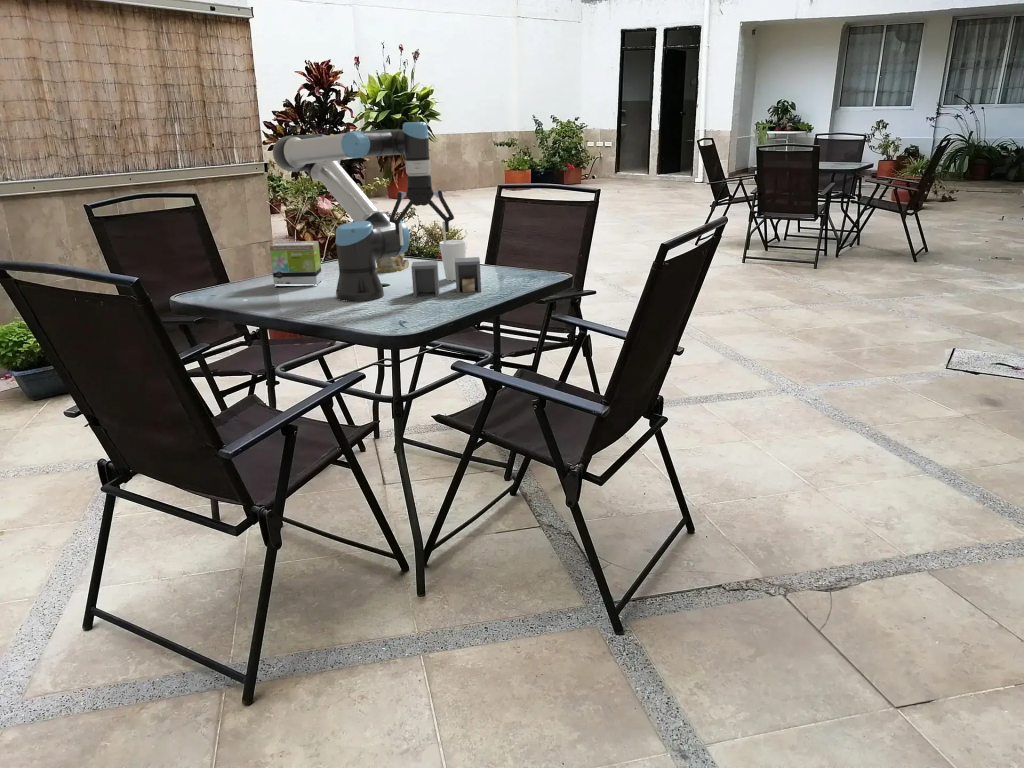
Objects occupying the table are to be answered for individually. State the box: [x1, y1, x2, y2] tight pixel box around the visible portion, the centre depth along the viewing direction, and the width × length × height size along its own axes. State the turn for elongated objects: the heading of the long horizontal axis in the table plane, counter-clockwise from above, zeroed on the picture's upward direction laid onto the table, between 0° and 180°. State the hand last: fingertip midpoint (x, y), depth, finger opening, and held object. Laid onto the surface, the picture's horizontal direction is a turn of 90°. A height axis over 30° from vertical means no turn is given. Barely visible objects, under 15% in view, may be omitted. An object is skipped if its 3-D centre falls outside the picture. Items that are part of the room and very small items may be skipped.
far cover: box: [455, 256, 482, 294], centre depth 255 cm, size 8×8×10 cm
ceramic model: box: [375, 253, 410, 273], centre depth 296 cm, size 14×11×10 cm
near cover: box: [410, 260, 440, 298], centre depth 251 cm, size 8×8×10 cm
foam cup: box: [438, 239, 468, 282], centre depth 273 cm, size 10×9×13 cm
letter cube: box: [462, 277, 476, 292], centre depth 256 cm, size 4×4×4 cm
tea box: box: [269, 240, 323, 285], centre depth 273 cm, size 15×10×15 cm, turn 92°
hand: (423, 244), depth 247 cm, fingers open, 13 cm apart
